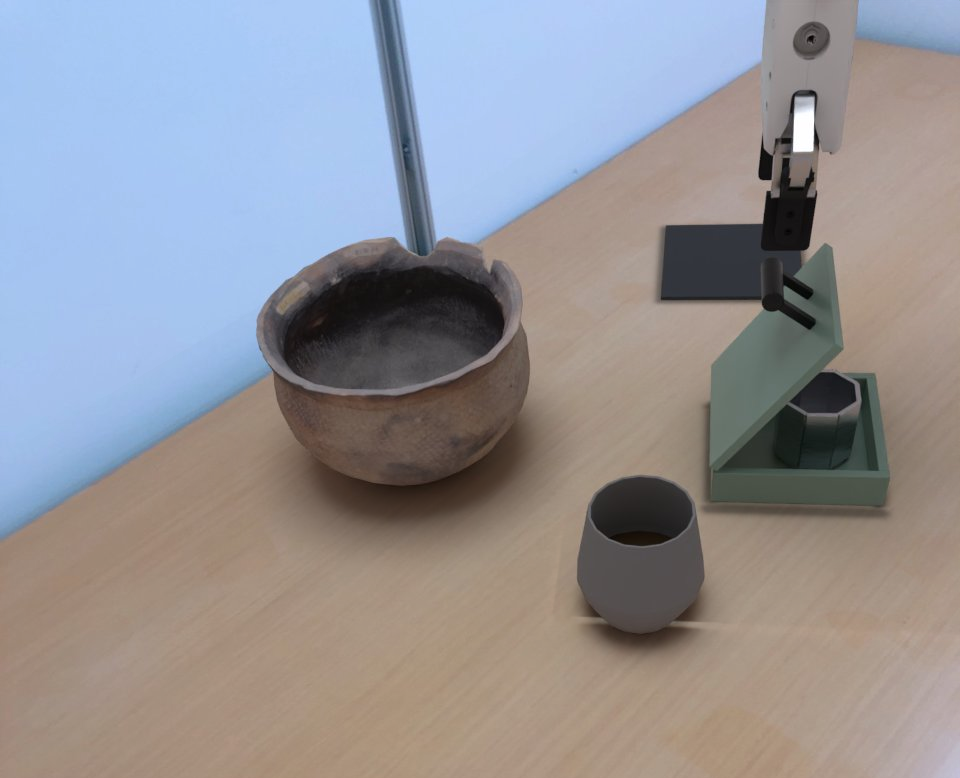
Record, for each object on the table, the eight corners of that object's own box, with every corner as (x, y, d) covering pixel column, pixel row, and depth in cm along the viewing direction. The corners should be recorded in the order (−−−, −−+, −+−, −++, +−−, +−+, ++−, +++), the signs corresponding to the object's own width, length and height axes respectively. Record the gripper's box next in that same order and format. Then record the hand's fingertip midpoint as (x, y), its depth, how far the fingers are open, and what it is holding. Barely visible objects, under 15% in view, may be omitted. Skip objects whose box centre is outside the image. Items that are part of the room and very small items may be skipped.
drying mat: (797, 226, 118) (798, 223, 118) (803, 299, 109) (804, 296, 109) (665, 228, 120) (666, 225, 120) (660, 300, 111) (660, 296, 111)
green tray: (868, 408, 97) (875, 372, 94) (881, 513, 89) (890, 477, 86) (711, 406, 99) (714, 371, 97) (709, 508, 91) (712, 473, 88)
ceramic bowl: (574, 401, 102) (568, 253, 91) (476, 558, 90) (455, 410, 78) (366, 360, 109) (337, 218, 98) (250, 500, 97) (201, 357, 86)
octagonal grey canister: (846, 427, 95) (857, 369, 90) (851, 474, 91) (863, 416, 86) (772, 426, 96) (779, 368, 91) (774, 473, 92) (782, 415, 87)
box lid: (832, 247, 86) (779, 211, 85) (844, 349, 78) (784, 310, 76) (718, 369, 96) (668, 339, 95) (716, 471, 88) (662, 440, 86)
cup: (722, 589, 85) (733, 491, 77) (665, 670, 80) (670, 575, 73) (615, 547, 89) (615, 451, 81) (555, 622, 84) (548, 528, 77)
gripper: (897, -9, 59) (845, 279, 72) (871, -112, 70) (829, 153, 83) (753, -4, 60) (727, 279, 73) (750, -106, 71) (727, 155, 84)
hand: (782, 212), depth 78 cm, fingers open, 9 cm apart
